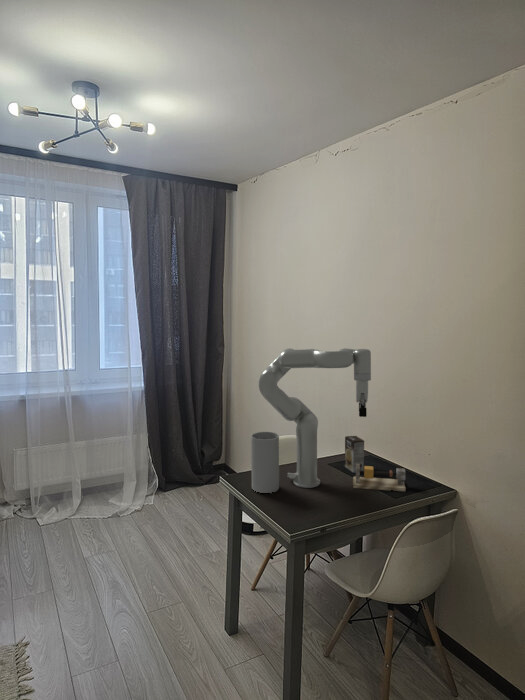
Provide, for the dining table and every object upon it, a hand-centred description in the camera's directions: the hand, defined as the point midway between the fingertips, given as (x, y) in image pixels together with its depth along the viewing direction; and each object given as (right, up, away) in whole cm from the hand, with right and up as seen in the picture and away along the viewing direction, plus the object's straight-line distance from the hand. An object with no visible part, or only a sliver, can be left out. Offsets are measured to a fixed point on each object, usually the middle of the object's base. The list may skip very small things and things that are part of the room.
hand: (362, 413), depth 208 cm
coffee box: (+1, -32, +25) cm, 41 cm away
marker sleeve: (+4, -30, +5) cm, 31 cm away
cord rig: (+8, -34, +5) cm, 35 cm away
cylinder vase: (-44, -35, +2) cm, 56 cm away
